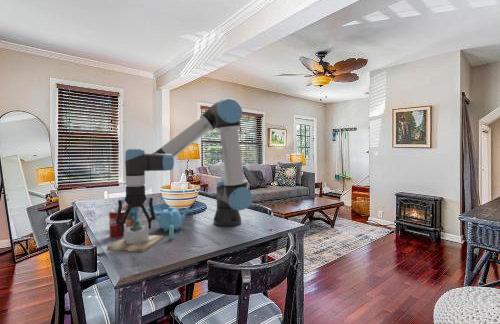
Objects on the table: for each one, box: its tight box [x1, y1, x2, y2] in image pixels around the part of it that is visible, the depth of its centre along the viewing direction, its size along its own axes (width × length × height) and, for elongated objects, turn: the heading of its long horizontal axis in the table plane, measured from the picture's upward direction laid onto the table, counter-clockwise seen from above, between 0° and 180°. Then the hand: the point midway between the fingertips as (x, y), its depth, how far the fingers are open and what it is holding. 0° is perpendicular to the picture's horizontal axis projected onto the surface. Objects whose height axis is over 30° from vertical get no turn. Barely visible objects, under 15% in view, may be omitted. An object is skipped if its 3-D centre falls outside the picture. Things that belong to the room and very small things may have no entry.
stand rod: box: [168, 225, 175, 241], centre depth 121 cm, size 2×2×6 cm
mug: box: [122, 204, 144, 227], centre depth 143 cm, size 12×9×11 cm
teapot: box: [154, 206, 190, 232], centre depth 137 cm, size 13×14×11 cm
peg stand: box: [107, 219, 164, 253], centre depth 115 cm, size 16×16×10 cm
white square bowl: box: [126, 224, 147, 244], centre depth 115 cm, size 8×8×5 cm
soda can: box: [108, 209, 127, 240], centre depth 125 cm, size 7×7×12 cm
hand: (136, 237), depth 115 cm, fingers closed on white square bowl, 8 cm apart
